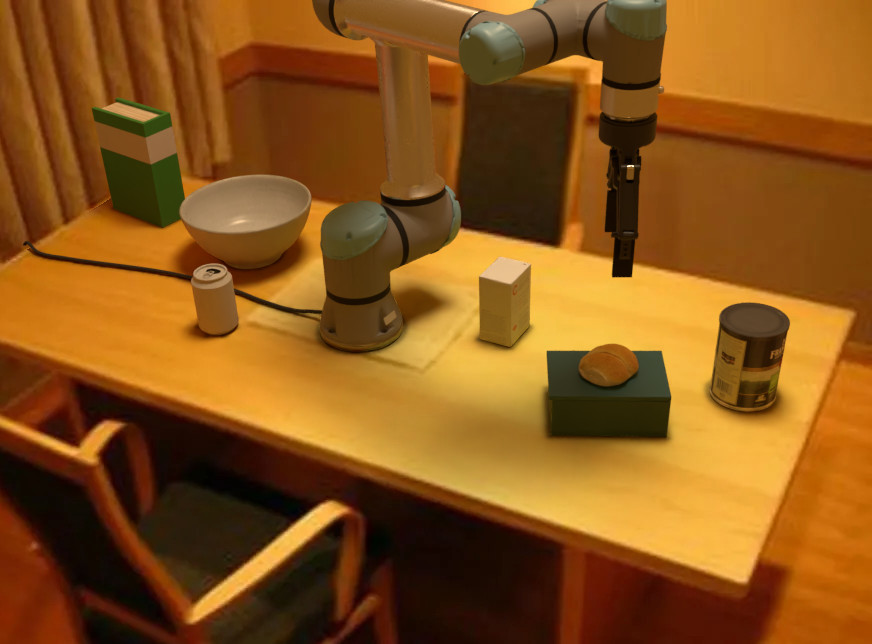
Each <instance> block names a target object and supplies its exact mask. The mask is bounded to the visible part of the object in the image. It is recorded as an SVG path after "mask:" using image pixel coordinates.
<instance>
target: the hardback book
mask: <svg viewBox="0 0 872 644" xmlns="http://www.w3.org/2000/svg"><path fill="white" fill-rule="evenodd" d="M114 101H115V102H114V103H112V104H109V105H107V106H105V107H102V108H101V107H99V106H98V107H97V106H93V107H91V112H92V116H93V122H94V126H95V131H96V136H97V140H98V144H99V149H100V154H101V159H102V162H103V163H102V164H103V168H104V170H105V171H104V172H105V178H106V181H107V186H108V190H109V195H110V200H111V204H112V209H113V210H116V211H118V212H122V213H124V214H126V215H129V216H131V217H135V218H137V219H139V220H142V221H144V222H147V223H149V224H152V225H155V226H156V227H160V228H161V229H164V228H166V227H167V226H169V225H172V224H174V223H175V222H178V221H180V220H181V217H180V213H179V210H180V206H181V204H182V202H183V201H184V200H185V198H186V196H185V189H184V184H183V179H182V174H181V168H180V161H179V156H178V151H177V150H178V149H177V145H176V140H175V138H176V137H175V133H174V127H173V122H172V116H171V112H169V111H165V110H162V109H159V108H156V107H152V106H149V105H145V104H142V103H139V102H136V101H132V100H128V99H126V98H122V97H119V96H118V97H115V98H114Z"/></svg>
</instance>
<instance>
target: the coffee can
mask: <svg viewBox="0 0 872 644" xmlns="http://www.w3.org/2000/svg"><path fill="white" fill-rule="evenodd" d="M718 323H719V325H718V329H717V338H716V344H715V351H714V358H713V359H714V360H713V364H712V374H711V380H710V385H709V394H710V397H711V398H712V399H713V400H714V401H715V402H717V404H719V405H720V406H723V407H724V408H727V409H731V410H733V411H739V412H758V411H763V410H765V409H767V408H770V407H771V406H772V405H773V404H774V403H775V402H776V398H777V389H778V385H779V381H780V375H781V369H782V364H783V358H784V352H785V348H786V342H787V336H788V331H789V330H790V326H791V320H790V317H788V315H787V314H786V313H785V312H783V311H782V310H781V309H779V308H777V307H775V306H772V305H769V304H765V303H762V302H761V303H760V302H737V303H733V304H730V305H728V306H726V307H724V308H723V309H722V310H721V311H720V312H719V315H718Z"/></svg>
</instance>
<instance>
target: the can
mask: <svg viewBox="0 0 872 644" xmlns="http://www.w3.org/2000/svg"><path fill="white" fill-rule="evenodd" d="M192 276H193V278H192V279H190V284H191V290H192V295H193V301H194V302H193V303H194V307H195V312H196V318H197V323H198V327H199V329H200V330H201V331H203V332H204V333H206V334H208V335H210V336H211V335H212V336H221V335H226V334H228V333H230V332H232V331H234V329H235V328H236V327H237V325H238V324H239V320H240V318H239V313H238V306H237V300H236V293H235V292H234V288H235V285H234V280H233V275H232V274H231V272H230V271H228V268H227V266H225V265H224V264H222V263H221V264H220V263H216V262H215V263H214V262H213V263H205V264H203V265H200V266H198V267H197V268H195V269H194V271H193V273H192Z"/></svg>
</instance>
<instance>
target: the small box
mask: <svg viewBox="0 0 872 644" xmlns="http://www.w3.org/2000/svg"><path fill="white" fill-rule="evenodd" d="M531 280H532V263H529V262H526V261H523V260H518V259H515V258H514V259H513V258H509V257H504V256H498V257H497V258H496V259H495V260H494V261H493V262H492V263H491V264H490V265H488V267H487V268H486V269H485V270H484V271H483V272H482V273H481V274H480V275H478V307H479V308H478V309H479V311H478V312H479V313H478V315H479V316H478V319H479V339H480V340H482V341H485V342H489V343H493V344H497V345H501V346H503V347H507V348H511V347H512V346H513V345H514V344H515V343H516V342H517V341H518V340H519V338H521V336H522V335H523V334H524V333H525V332H526V331H527V330H528V328H529V327H530V326H531V287H532V286H531V285H532V281H531Z"/></svg>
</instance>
